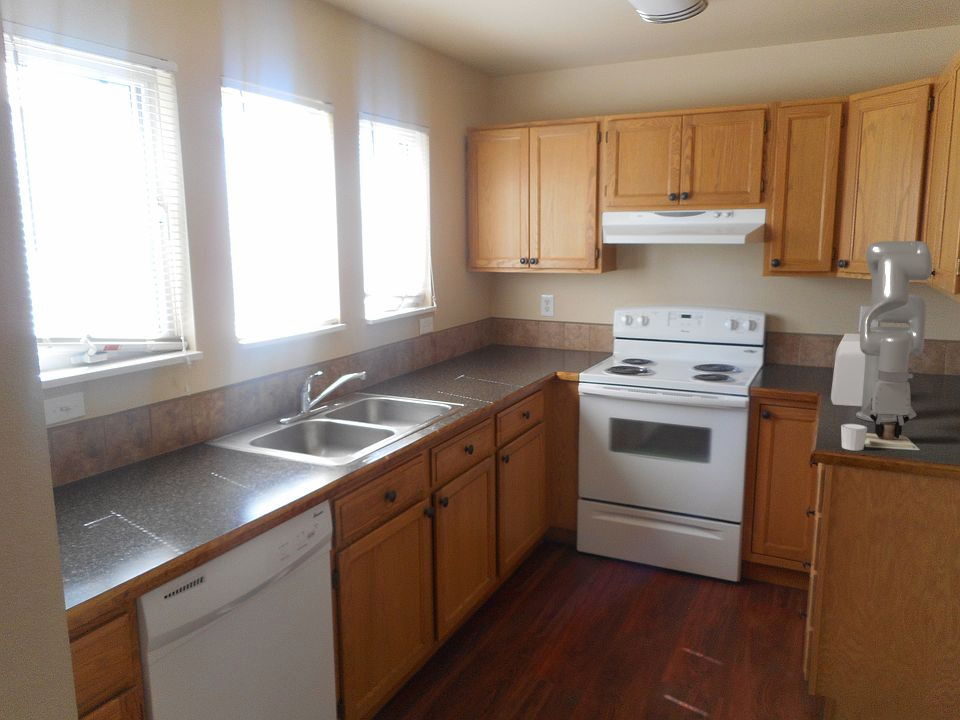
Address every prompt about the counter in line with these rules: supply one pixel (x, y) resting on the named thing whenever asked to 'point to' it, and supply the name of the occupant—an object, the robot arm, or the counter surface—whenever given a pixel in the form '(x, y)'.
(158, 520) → the counter surface
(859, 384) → the milk
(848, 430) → the white cup
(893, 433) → the lid
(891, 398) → the robot arm
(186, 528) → the counter surface
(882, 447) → the mat
